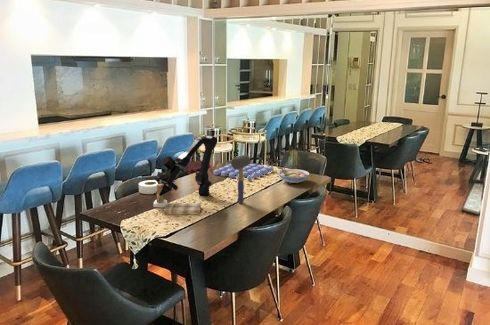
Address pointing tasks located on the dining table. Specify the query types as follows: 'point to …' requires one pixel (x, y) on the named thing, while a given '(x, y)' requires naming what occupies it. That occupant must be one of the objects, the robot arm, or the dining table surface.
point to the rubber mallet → (240, 173)
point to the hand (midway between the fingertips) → (157, 194)
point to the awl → (159, 189)
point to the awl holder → (160, 204)
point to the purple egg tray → (250, 171)
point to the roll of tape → (148, 187)
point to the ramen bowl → (293, 175)
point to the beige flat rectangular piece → (182, 208)
